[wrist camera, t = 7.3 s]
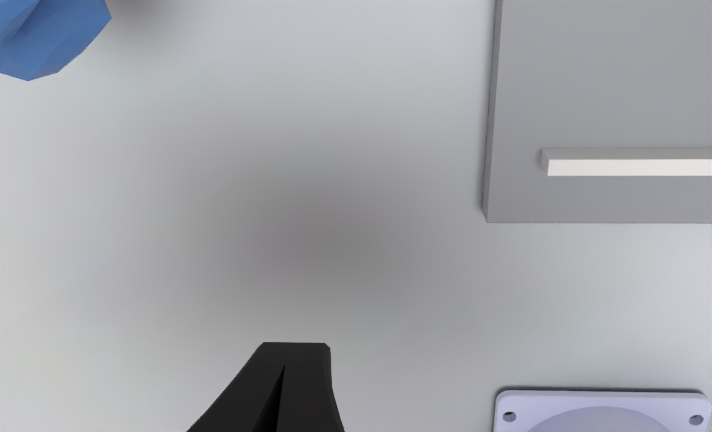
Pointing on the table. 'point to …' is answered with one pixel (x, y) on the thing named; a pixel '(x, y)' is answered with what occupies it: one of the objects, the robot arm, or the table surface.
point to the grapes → (46, 34)
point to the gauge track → (600, 112)
